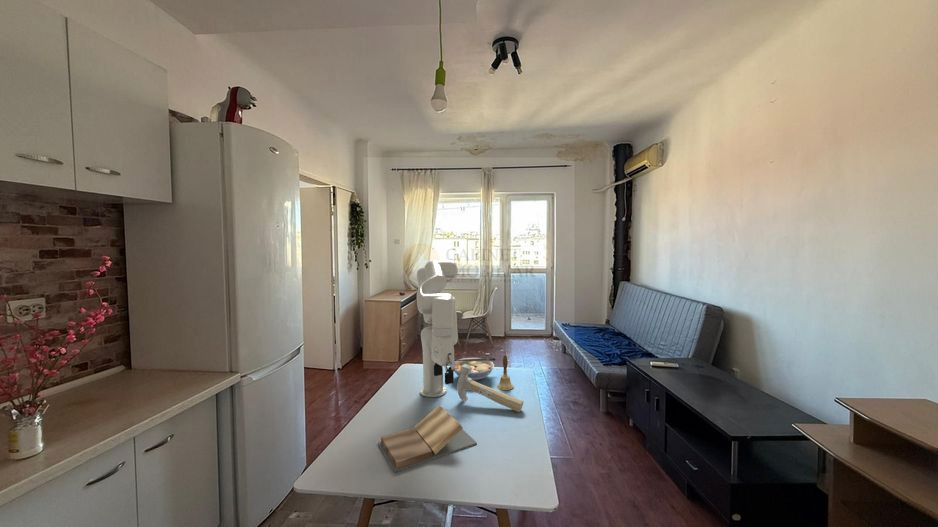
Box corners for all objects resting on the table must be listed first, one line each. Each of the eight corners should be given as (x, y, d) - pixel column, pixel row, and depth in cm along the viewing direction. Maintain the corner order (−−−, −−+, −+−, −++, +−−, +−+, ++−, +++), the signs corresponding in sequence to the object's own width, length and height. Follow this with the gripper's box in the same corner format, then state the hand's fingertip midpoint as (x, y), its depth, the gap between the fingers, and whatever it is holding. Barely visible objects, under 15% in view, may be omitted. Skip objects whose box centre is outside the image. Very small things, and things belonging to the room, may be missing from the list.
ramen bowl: (448, 387, 172) (448, 371, 171) (449, 370, 194) (449, 356, 194) (498, 386, 172) (498, 370, 172) (494, 370, 195) (494, 355, 195)
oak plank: (416, 431, 130) (413, 427, 129) (441, 408, 135) (439, 404, 134) (435, 454, 115) (432, 450, 114) (462, 428, 120) (460, 424, 119)
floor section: (378, 444, 123) (377, 436, 123) (453, 421, 138) (453, 415, 138) (394, 472, 107) (394, 464, 107) (476, 444, 122) (476, 437, 122)
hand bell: (493, 386, 173) (493, 354, 172) (505, 382, 178) (505, 351, 177) (504, 392, 166) (504, 359, 165) (517, 387, 171) (517, 355, 170)
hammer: (527, 388, 147) (464, 362, 159) (524, 392, 143) (460, 366, 155) (518, 421, 149) (458, 394, 161) (515, 426, 145) (453, 398, 157)
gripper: (423, 327, 130) (424, 373, 130) (444, 338, 115) (444, 390, 115) (441, 325, 133) (442, 370, 134) (464, 335, 118) (464, 385, 119)
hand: (443, 379), depth 125 cm, fingers open, 8 cm apart
